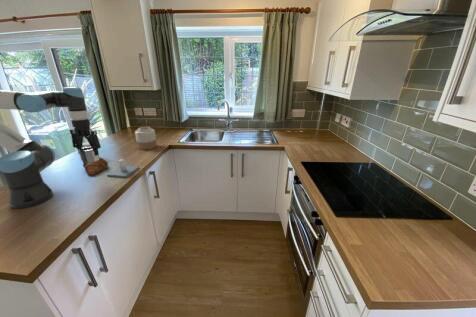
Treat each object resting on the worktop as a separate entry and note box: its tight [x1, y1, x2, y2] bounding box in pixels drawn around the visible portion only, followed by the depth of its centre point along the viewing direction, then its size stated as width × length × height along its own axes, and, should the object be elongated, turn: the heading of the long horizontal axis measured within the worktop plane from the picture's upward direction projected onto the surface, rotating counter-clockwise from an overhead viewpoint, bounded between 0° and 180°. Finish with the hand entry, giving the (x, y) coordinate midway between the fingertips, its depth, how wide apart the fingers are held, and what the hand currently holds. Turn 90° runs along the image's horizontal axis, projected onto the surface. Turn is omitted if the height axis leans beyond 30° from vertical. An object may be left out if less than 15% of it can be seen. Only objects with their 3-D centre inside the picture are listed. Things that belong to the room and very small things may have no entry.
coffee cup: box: [82, 141, 100, 158], centre depth 148 cm, size 9×9×12 cm
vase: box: [134, 126, 158, 151], centre depth 173 cm, size 15×15×17 cm
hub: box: [79, 147, 94, 164], centre depth 113 cm, size 7×7×7 cm
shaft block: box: [106, 158, 140, 179], centre depth 128 cm, size 14×12×8 cm
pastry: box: [82, 157, 109, 177], centre depth 132 cm, size 17×15×8 cm
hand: (90, 160), depth 114 cm, fingers closed on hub, 7 cm apart
